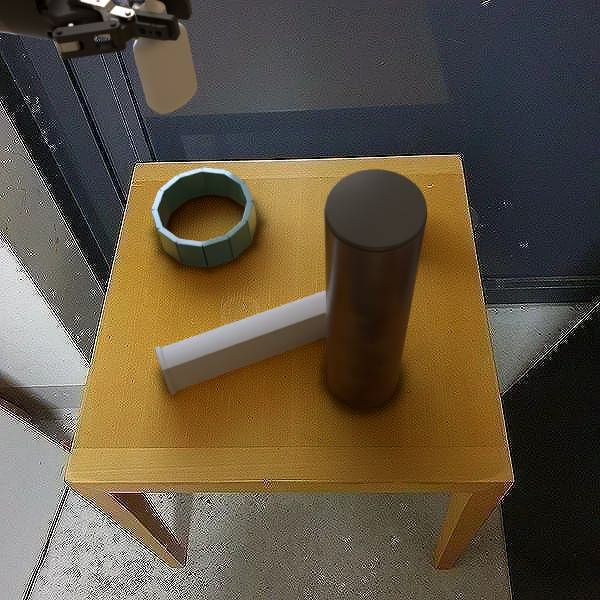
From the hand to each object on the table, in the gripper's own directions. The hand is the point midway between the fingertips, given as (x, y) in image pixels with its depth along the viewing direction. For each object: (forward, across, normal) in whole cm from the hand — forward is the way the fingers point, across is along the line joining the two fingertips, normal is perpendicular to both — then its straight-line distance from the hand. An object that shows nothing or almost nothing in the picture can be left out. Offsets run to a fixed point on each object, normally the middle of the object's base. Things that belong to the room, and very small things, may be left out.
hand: (183, 18), depth 63 cm
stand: (+22, -16, +32) cm, 42 cm away
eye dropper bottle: (-3, 0, +10) cm, 11 cm away
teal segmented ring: (-3, 0, +32) cm, 32 cm away
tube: (+10, -14, +32) cm, 37 cm away
